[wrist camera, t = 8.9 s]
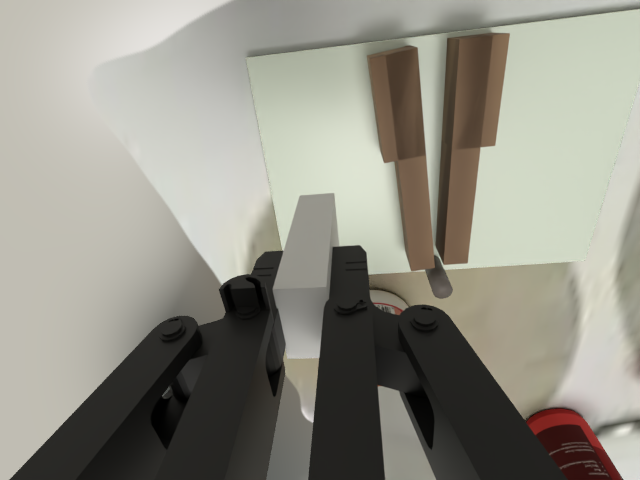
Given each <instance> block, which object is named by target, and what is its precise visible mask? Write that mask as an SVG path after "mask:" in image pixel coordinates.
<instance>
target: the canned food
mask: <svg viewBox="0 0 640 480" xmlns="http://www.w3.org/2000/svg"><path fill="white" fill-rule="evenodd" d="M526 423H527V424H528V426H529V427H530V429H531V430H532V431H533V433H534V434H535V435H536V437H537V438H538V440H539V441H540V442H541V444H542V445H543V446H544V448H545V449H546V451H547V452H548V453H549V455H550V456H551V457H552V459H553V460H554V462H555V463H556V464H557V466H558V467H559V468H560V470H561V471H562V473H563V474H564V475H565V477H566V478H567V479H568V480H623V479H622V477H621V475H620V474H619V472H618V471H617V469H616V468H615V466H614V464H613V463H612V461H611V460H610V458H609V456H608V455H607V453H606V452H605V450H604V449H603V447H602V445H601V444H600V442H599V441H598V439H597V437H596V436H595V434H594V433H593V431H592V430H591V428H590V426H589V425H588V423H587V422H586V421H585V420H584V419H583V418H582V417H581V416H580V415H579V414H578V413H576V412H574V411H572V410H568V409H559V408H558V409H548V410H544V411H541V412H539V413H536V414H535V415H533V416H532V417H530V418H529V419H528V420H527V422H526Z"/></svg>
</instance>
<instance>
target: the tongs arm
mask: <svg viewBox="0 0 640 480" xmlns="http://www.w3.org/2000/svg"><path fill="white" fill-rule="evenodd" d="M367 62H368V69H369V76H370V83H371V90H372V97H373V104H374V111H375V118H376V125H377V132H378V139H379V146H380V152H381V155H382V158H383V161H384V163H389V162H394V163H395V171H396V179H397V187H398V195H399V203H400V211H401V219H402V227H403V236H404V244H405V252H406V256H407V259H408V262H409V266H410V269H411V272H412V271H418V270H425V269H431V268H435V262H434V249H433V237H432V224H431V211H430V198H429V186H428V173H427V160H426V147H425V135H424V122H423V109H422V97H421V84H420V71H419V58H418V47H414V46H410V45H409V46H404V47H400V48H396V49H392V50H388V51H384V52H380V53H376V54H371V55H367Z"/></svg>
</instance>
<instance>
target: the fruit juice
mask: <svg viewBox="0 0 640 480" xmlns="http://www.w3.org/2000/svg"><path fill="white" fill-rule="evenodd" d="M370 298H371V301H372V302H373V304H374V305H375V306H376V307H378V308H379V309H381V310H383V311H385V312H388V313H392V314H397V315H400V313H401V312H402V311H404V310H405V309H406V308H408V307H409V306H408V305H407V304H406V303H405V302H404V301H403V300H402V299H401V298H399V297H398V296H396V295H394V294H392V293H389V292H386V291H381V290H370ZM378 396H379V408H380V421H381V433H382V446H383V458H384V471H385V480H436V478H435V476H434V474H433V471H432V469H431V466H430V464H429V462H428V459H427V457H426V455H425V452H424V450H423V448H422V445H421V443H420V441H419V438H418V436H417V434H416V431H415V429H414V427H413V424H412V422H411V420H410V417H409V415H408V413H407V410H406V408H405V406H404V403H403V401H402V399H401V396H400V393H399V391H397V390H394V389H390V388H387V387H383V386H380V385H378Z"/></svg>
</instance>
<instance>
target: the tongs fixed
mask: <svg viewBox="0 0 640 480" xmlns="http://www.w3.org/2000/svg"><path fill="white" fill-rule="evenodd" d="M509 37H510V33H485V34H476V35H468V36H460V37H452V38H447V53H446V70H445V88H444V105H443V123H442V141H441V158H440V176H439V194H438V211H437V229H436V249H437V251H438V253H439V256H440V258H441V260H442V263H443V265H450V264H466V263H468V256H469V247H470V238H471V229H472V220H473V211H474V202H475V193H476V184H477V175H478V166H479V157H480V148H481V147H490V146H495V144H496V136H497V128H498V121H499V113H500V106H501V98H502V90H503V83H504V75H505V68H506V60H507V53H508V45H509ZM434 262H435V268H431V269H425V271H426V274H427V277H428V280H429V283H430V285H431V288H432V291H433V294H434V296H435V297H437V298H446V297H448V296H450V295H451V293H452V291H453V289H452V286H451V284H450V282H449V280H448V277H447V275H446V273H445V270H444V268H443V266H442V263H441V261H440V259H439V257H438V256H436V255H434Z"/></svg>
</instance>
